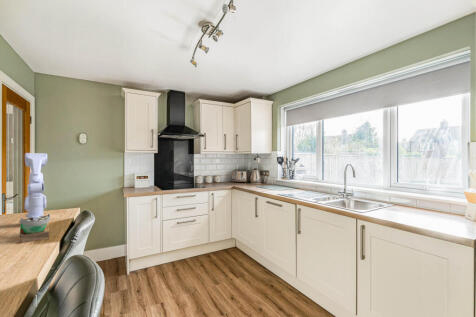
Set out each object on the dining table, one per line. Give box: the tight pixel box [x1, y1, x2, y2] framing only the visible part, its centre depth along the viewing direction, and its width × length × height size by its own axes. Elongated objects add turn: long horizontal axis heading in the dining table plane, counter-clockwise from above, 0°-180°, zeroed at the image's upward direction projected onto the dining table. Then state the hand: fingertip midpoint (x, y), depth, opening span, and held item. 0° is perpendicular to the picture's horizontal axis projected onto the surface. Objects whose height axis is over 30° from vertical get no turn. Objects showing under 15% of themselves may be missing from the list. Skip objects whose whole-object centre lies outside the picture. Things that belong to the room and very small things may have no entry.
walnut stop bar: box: [20, 230, 50, 244], centre depth 110 cm, size 3×10×3 cm, turn 132°
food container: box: [19, 213, 51, 238], centre depth 113 cm, size 12×6×10 cm, turn 157°
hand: (35, 231), depth 117 cm, fingers closed
